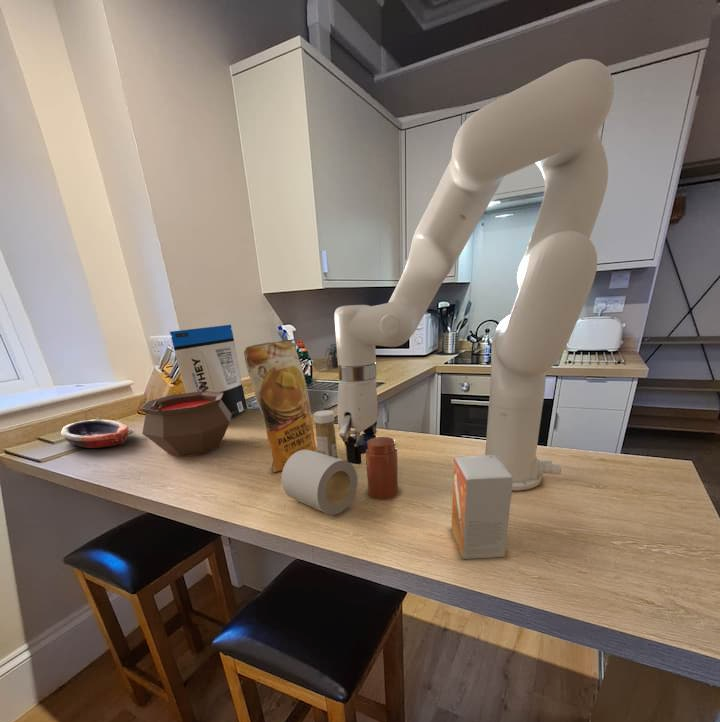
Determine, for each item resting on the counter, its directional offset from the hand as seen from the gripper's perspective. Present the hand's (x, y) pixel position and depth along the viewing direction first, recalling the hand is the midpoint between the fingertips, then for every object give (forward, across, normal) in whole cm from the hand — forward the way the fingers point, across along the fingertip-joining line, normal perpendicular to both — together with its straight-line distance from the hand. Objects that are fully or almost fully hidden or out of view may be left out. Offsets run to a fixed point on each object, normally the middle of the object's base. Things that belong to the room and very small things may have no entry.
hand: (362, 456), depth 85 cm
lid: (-4, 0, 0) cm, 4 cm away
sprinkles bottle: (+5, 0, -9) cm, 10 cm away
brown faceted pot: (+5, -1, -54) cm, 54 cm away
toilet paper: (+5, +15, -1) cm, 16 cm away
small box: (+4, +18, +28) cm, 34 cm away
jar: (+4, +7, +8) cm, 11 cm away
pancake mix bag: (+5, -2, -20) cm, 21 cm away
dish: (+5, +4, -91) cm, 92 cm away
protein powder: (+5, -28, -71) cm, 77 cm away
